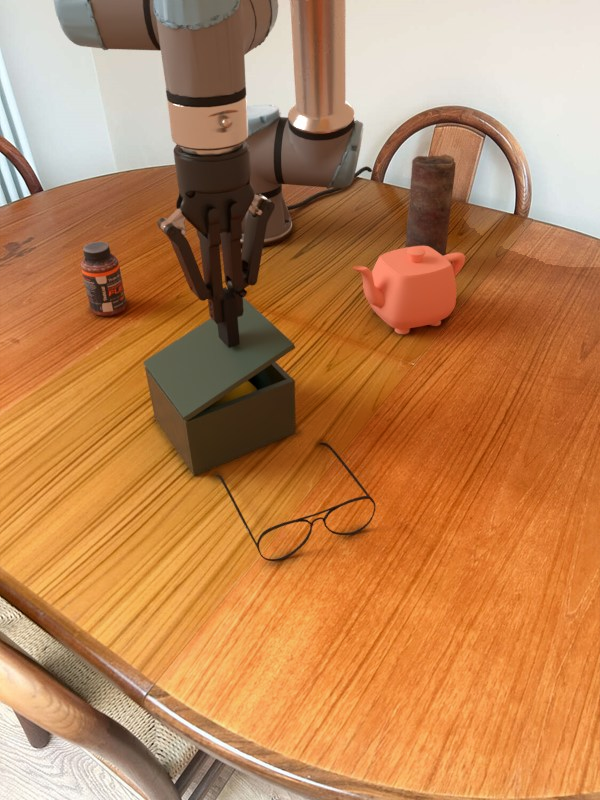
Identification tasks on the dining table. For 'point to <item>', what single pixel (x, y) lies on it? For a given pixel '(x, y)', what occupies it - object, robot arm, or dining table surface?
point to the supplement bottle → (102, 280)
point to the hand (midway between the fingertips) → (229, 340)
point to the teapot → (412, 286)
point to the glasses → (306, 516)
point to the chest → (229, 421)
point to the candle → (430, 202)
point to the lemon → (236, 393)
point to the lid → (216, 361)
